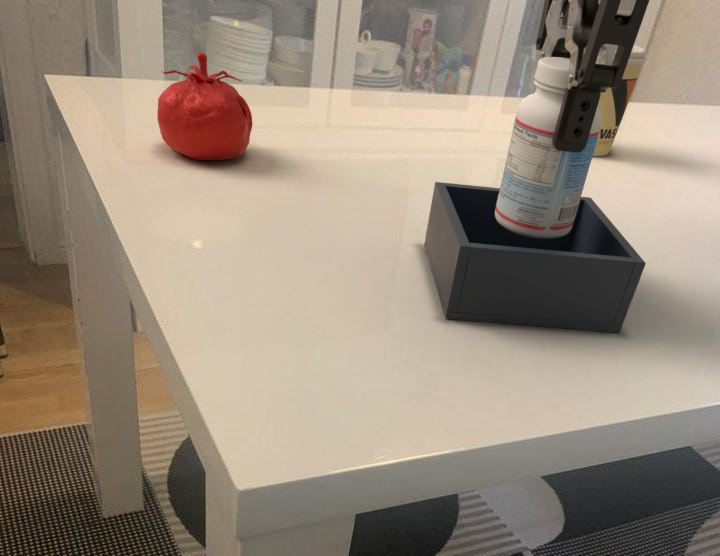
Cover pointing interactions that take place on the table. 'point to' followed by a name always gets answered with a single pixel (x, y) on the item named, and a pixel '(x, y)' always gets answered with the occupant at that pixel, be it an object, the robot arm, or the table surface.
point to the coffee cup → (617, 102)
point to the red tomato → (204, 115)
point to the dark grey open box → (528, 265)
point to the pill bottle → (543, 162)
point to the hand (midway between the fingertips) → (554, 135)
